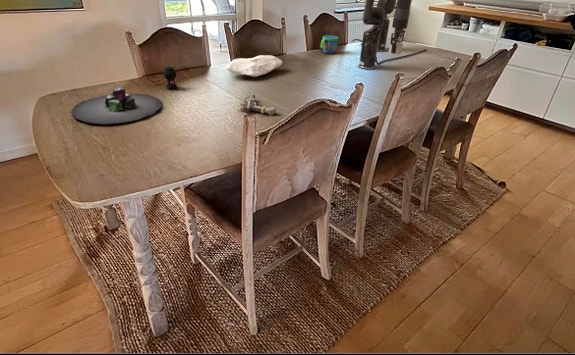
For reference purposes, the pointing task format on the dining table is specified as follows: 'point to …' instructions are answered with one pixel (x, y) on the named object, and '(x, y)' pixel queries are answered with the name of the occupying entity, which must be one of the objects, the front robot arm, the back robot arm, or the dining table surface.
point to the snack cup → (329, 44)
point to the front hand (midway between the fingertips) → (394, 51)
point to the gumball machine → (170, 77)
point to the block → (397, 48)
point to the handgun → (255, 106)
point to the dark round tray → (116, 108)
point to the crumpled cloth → (254, 65)
